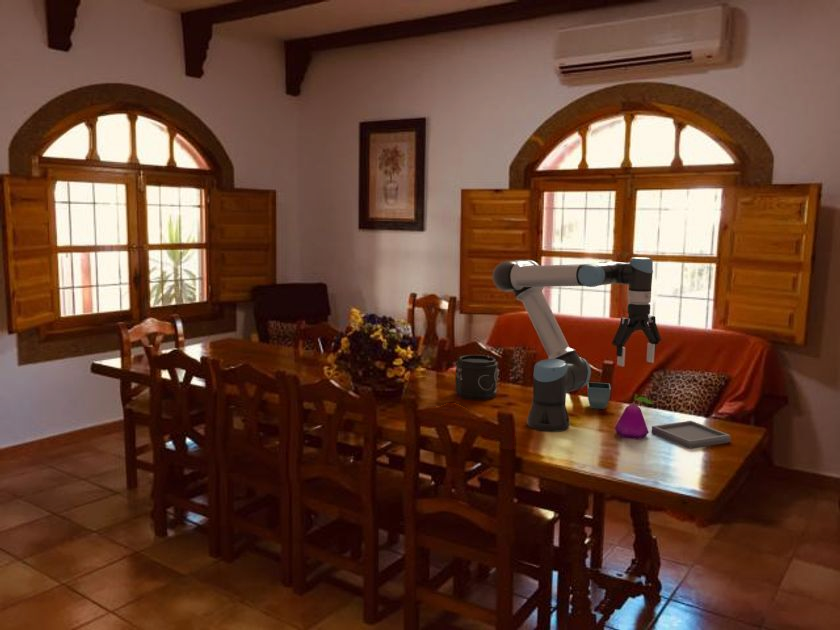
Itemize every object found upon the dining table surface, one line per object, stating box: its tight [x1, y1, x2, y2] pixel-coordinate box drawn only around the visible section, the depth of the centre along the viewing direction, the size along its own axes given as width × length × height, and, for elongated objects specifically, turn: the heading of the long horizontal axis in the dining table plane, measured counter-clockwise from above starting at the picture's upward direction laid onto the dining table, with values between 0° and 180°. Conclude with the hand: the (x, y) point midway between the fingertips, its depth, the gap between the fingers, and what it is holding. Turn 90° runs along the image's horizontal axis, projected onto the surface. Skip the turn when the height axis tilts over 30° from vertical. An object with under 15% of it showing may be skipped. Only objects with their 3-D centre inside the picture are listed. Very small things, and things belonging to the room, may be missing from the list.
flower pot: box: [586, 381, 612, 410], centre depth 285 cm, size 9×9×9 cm
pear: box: [614, 393, 654, 440], centre depth 250 cm, size 11×11×15 cm
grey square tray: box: [651, 420, 731, 450], centre depth 249 cm, size 18×18×2 cm
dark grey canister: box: [454, 354, 499, 401], centre depth 301 cm, size 18×18×16 cm
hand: (635, 363), depth 250 cm, fingers open, 13 cm apart
